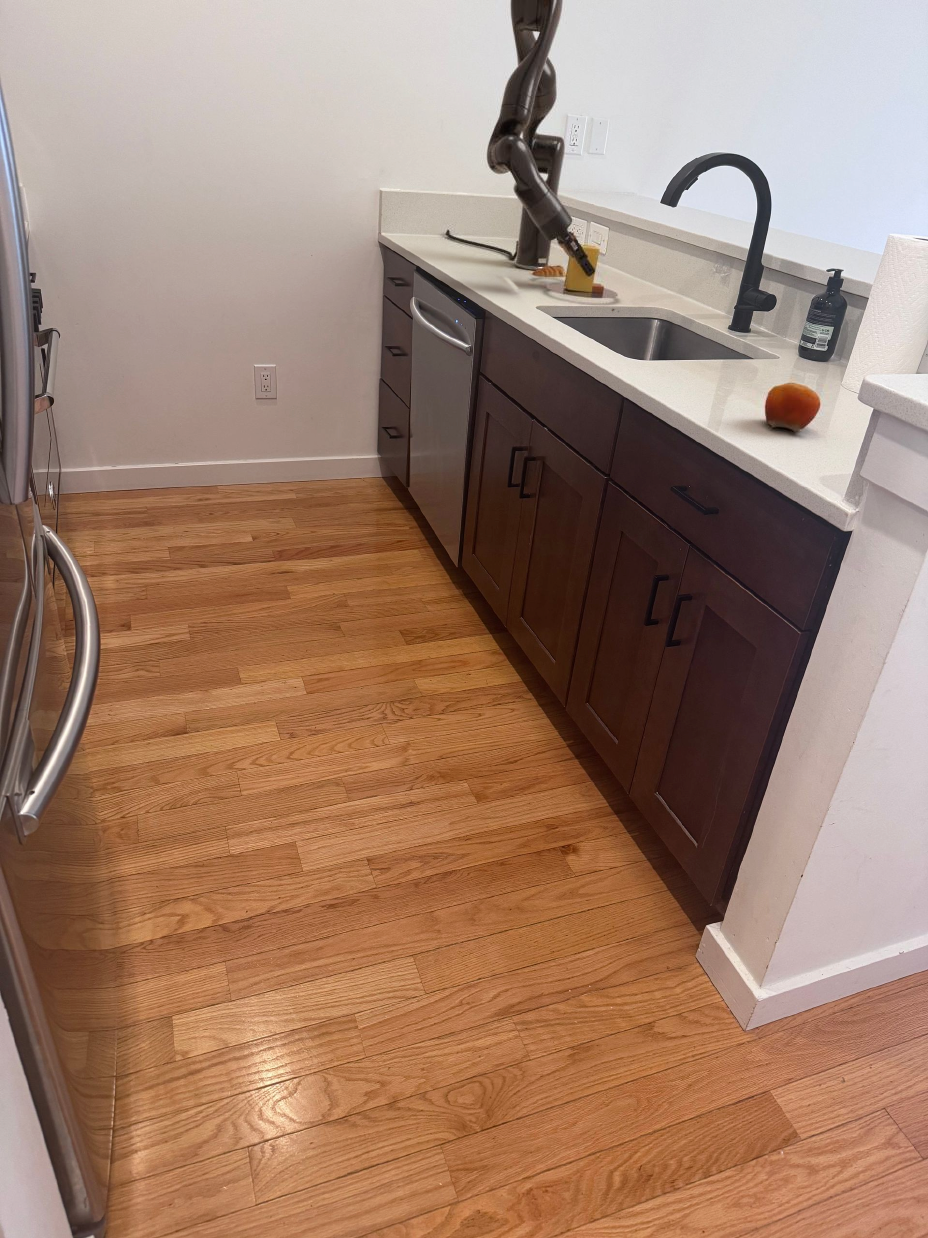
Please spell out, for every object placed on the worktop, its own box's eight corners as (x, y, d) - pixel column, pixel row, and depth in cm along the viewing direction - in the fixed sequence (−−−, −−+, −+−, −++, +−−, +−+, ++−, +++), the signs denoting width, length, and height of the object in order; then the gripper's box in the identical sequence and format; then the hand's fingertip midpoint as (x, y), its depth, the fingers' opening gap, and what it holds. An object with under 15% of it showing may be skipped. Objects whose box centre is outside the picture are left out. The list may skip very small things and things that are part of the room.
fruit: (759, 423, 133) (773, 372, 133) (755, 436, 141) (769, 388, 141) (814, 433, 131) (828, 381, 131) (807, 446, 139) (821, 397, 139)
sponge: (563, 285, 219) (571, 243, 214) (586, 288, 220) (595, 246, 215) (568, 289, 215) (576, 245, 210) (591, 292, 216) (599, 249, 211)
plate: (538, 286, 225) (539, 280, 224) (605, 291, 227) (606, 285, 227) (553, 301, 209) (554, 294, 209) (625, 306, 212) (626, 300, 211)
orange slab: (587, 288, 220) (588, 282, 219) (599, 289, 220) (600, 283, 219) (591, 292, 216) (592, 285, 216) (603, 292, 217) (604, 286, 216)
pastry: (542, 283, 229) (544, 268, 227) (525, 278, 233) (526, 263, 231) (567, 282, 234) (570, 267, 232) (550, 277, 238) (552, 262, 237)
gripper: (568, 206, 201) (609, 266, 209) (554, 199, 213) (594, 256, 221) (542, 229, 202) (584, 288, 211) (530, 221, 215) (570, 277, 223)
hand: (589, 271), depth 216 cm, fingers closed on sponge, 4 cm apart
